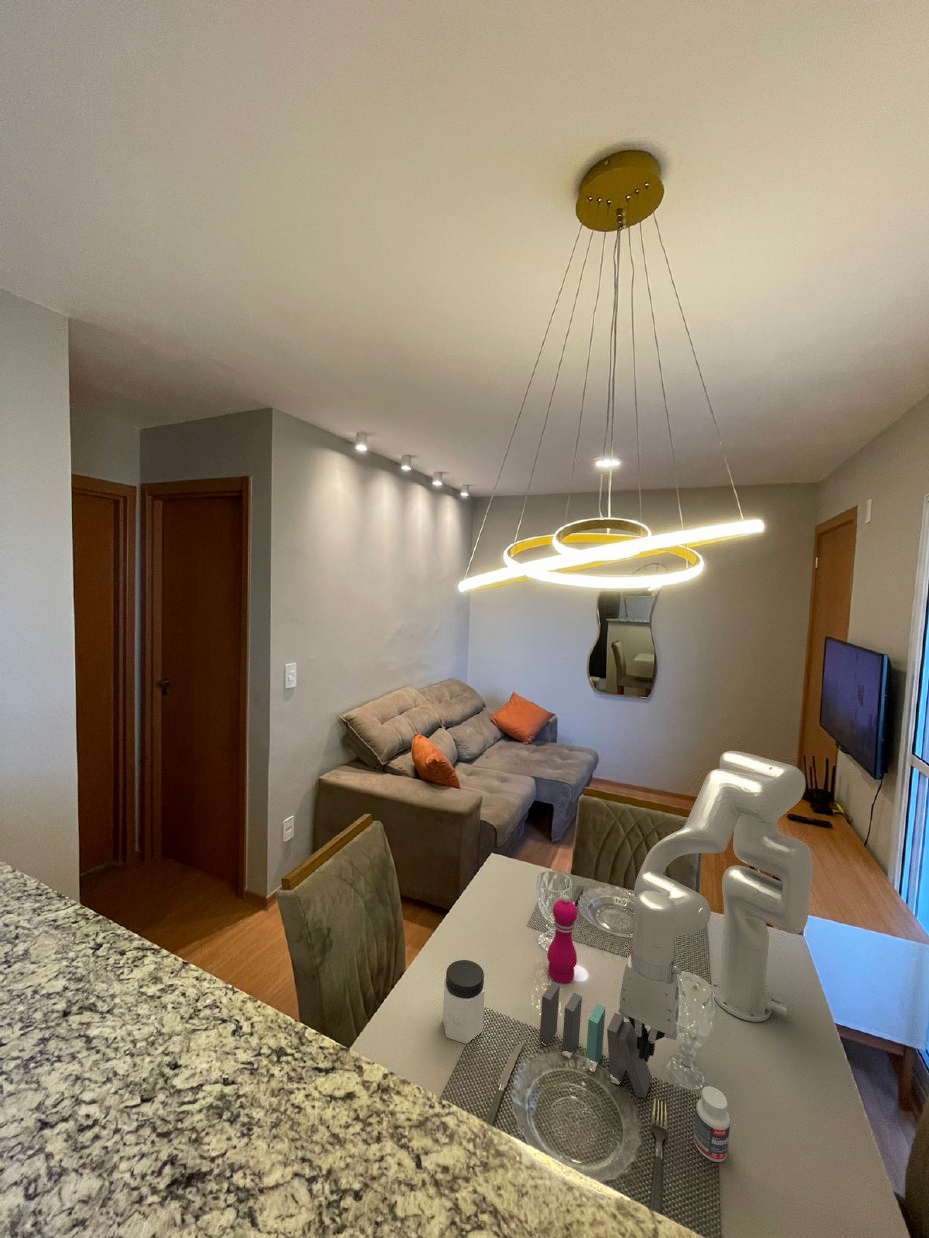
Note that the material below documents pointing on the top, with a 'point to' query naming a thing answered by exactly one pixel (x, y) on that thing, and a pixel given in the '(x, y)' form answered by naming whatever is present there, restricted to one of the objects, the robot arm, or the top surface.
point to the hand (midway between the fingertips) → (645, 1054)
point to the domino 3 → (595, 1033)
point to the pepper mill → (563, 942)
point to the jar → (463, 1001)
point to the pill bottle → (712, 1125)
